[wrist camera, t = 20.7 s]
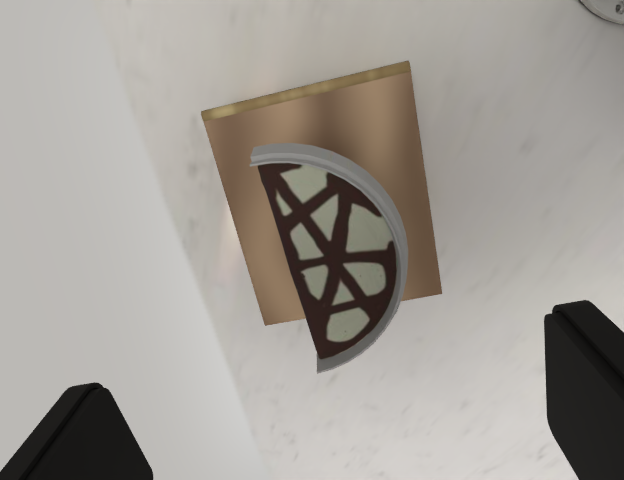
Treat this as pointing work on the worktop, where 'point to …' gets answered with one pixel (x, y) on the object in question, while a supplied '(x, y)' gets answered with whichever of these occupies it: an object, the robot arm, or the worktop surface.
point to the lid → (342, 140)
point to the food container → (336, 245)
